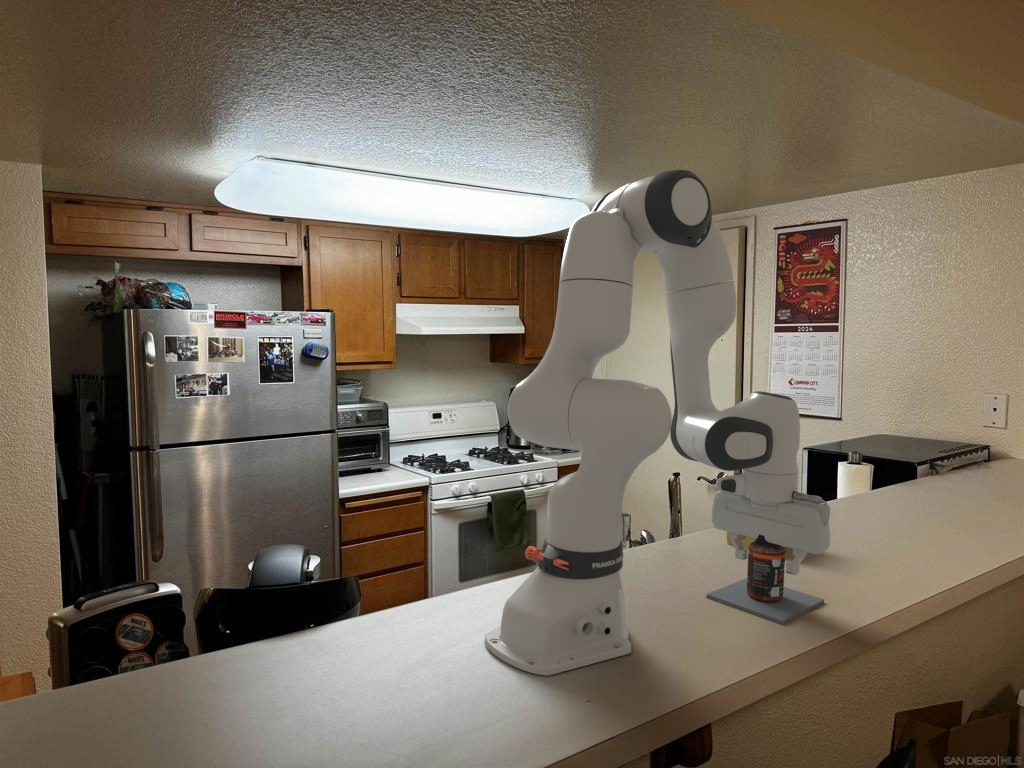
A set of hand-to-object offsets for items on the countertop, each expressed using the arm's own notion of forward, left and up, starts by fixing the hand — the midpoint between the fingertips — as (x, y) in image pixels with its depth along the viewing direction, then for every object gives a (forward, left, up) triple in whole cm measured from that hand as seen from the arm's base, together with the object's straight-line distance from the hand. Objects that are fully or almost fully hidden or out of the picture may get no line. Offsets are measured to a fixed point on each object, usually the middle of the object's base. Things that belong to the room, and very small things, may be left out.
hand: (766, 565), depth 118 cm
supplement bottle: (0, 0, -6) cm, 6 cm away
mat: (0, 0, -6) cm, 6 cm away
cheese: (+28, +17, -6) cm, 33 cm away
